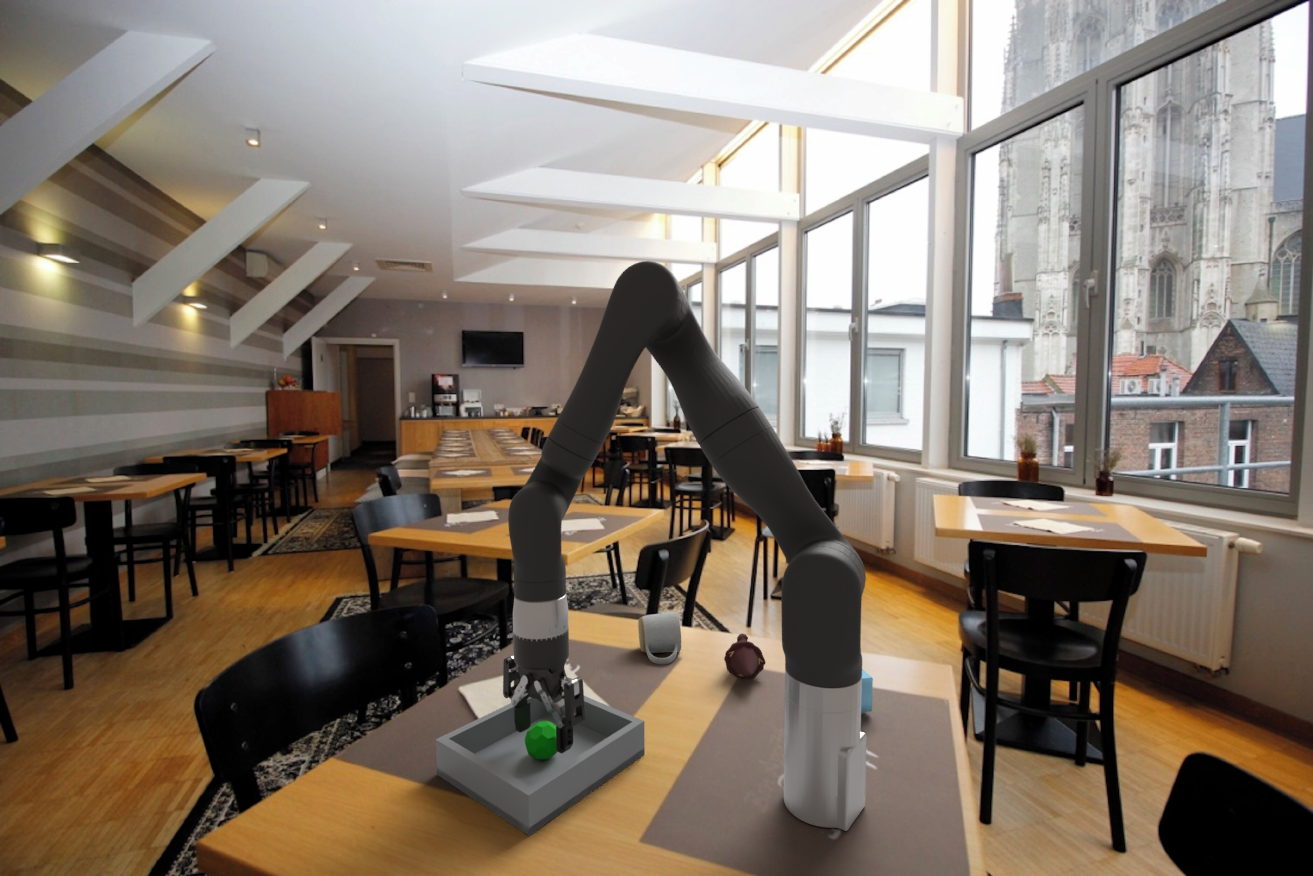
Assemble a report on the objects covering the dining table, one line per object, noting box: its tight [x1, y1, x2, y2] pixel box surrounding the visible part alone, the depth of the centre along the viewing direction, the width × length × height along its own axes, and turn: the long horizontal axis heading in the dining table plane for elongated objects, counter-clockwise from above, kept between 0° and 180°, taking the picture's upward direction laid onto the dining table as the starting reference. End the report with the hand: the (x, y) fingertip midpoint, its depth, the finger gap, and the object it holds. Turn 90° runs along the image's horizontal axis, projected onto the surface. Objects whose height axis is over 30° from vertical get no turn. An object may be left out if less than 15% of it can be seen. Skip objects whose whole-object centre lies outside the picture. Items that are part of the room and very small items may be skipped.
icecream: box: [723, 633, 767, 680], centre depth 115 cm, size 7×7×15 cm
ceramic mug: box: [637, 611, 682, 665], centre depth 125 cm, size 11×8×8 cm
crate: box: [435, 694, 646, 837], centre depth 88 cm, size 19×21×5 cm
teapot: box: [861, 668, 874, 715], centre depth 105 cm, size 12×6×8 cm, turn 11°
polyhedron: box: [525, 721, 557, 760], centre depth 88 cm, size 5×5×5 cm
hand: (542, 739), depth 88 cm, fingers open, 8 cm apart
